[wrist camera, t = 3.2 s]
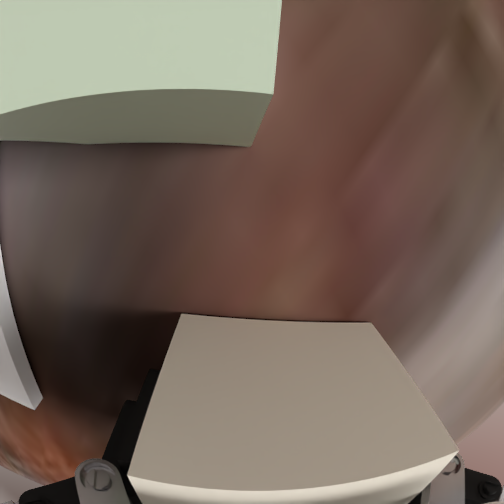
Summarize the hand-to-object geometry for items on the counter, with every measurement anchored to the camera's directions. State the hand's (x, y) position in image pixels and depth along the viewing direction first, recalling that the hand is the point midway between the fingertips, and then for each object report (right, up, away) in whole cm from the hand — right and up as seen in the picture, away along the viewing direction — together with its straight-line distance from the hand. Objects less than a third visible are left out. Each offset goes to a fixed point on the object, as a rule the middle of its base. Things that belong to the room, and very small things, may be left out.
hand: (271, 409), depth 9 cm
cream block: (0, 0, +1) cm, 1 cm away
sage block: (-3, +11, -2) cm, 12 cm away
